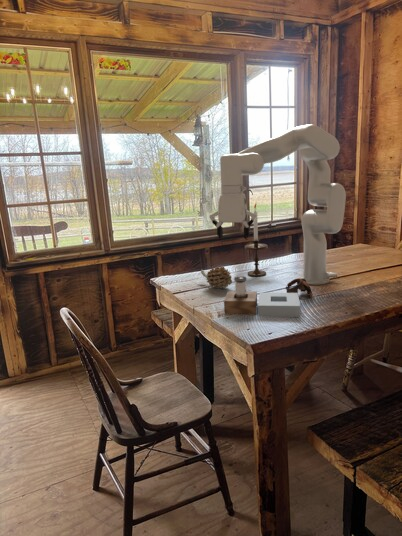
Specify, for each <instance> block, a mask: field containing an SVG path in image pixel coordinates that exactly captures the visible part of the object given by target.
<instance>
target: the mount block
mask: <svg viewBox="0 0 402 536" xmlns="http://www.w3.org/2000/svg"><path fill="white" fill-rule="evenodd" d="M223 307H224V309H223V310H224V315H236V316H237V315H240V316H241V315H244V316H245V315H248V316H249V315H250V316H251V315H252V316H256V315H257V310H258V292H257V291H249V290H247V291H246V298H236V290H235V291H231V290H230V291H227V293H226V295H225V298H224V300H223Z"/></svg>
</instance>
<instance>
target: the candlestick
mask: <svg viewBox="0 0 402 536" xmlns="http://www.w3.org/2000/svg"><path fill="white" fill-rule="evenodd" d="M252 213H254V214H256V215H257V216H256V218H255V220H254V222H253V239H251V241H252V242H253V243H249V244H248V243H247V244H246V245H244V249H245V250H249V251H254V258H253V261H254V263H253V266H255V267H254V268H255V269H253V270H250V271H247V276H248V277H253V278H260V277H261V278H262V277H264V276H267V272H266V271H265V270H262V269H261V270H259V266H260V264H259V261H260V258H259V256H258V255H259V254H258V253H259V251H260V250H265V249H268V244H266V243H261V242H259V241H261V239H259V232H258V231H259V228H258V224H259V223H258V211H257V203H255V204H254V210H253V212H252Z"/></svg>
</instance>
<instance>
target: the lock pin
mask: <svg viewBox="0 0 402 536" xmlns="http://www.w3.org/2000/svg"><path fill="white" fill-rule="evenodd" d="M246 281H247V277H246V276H243V275H239V276H238V275H237V276H235V277H234V282H235V291H236V298H246V290H247V289H246V286H247V285H246Z"/></svg>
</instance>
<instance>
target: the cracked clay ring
mask: <svg viewBox="0 0 402 536" xmlns="http://www.w3.org/2000/svg"><path fill="white" fill-rule="evenodd" d="M295 284H296V285H295ZM293 285H294V286H293ZM292 286H293V287H292ZM285 290H286V292H285V293H298V294H299V290H300V292H302V293H303V292H306V294H307V295H308V296H309V297H310V299H313V297H314V294H313V291H312V288H311V286H310V284H308V283H307V282H306V280H305V279H304V278H302V279H301V278H295V279H292V280H291V281H289V282H288V283H287V285H286V286H285Z"/></svg>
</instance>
